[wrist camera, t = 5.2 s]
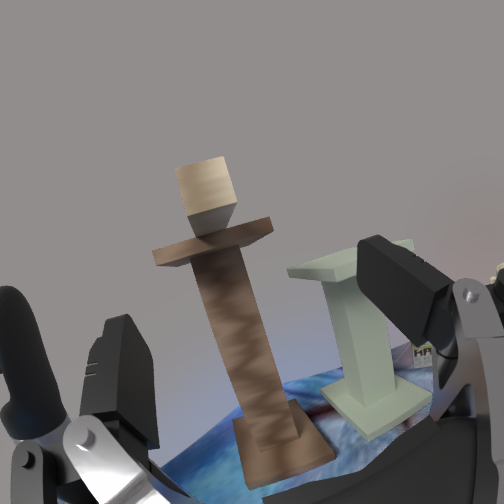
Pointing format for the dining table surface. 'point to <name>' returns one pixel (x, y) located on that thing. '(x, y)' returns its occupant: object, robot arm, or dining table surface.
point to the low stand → (362, 350)
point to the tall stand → (249, 357)
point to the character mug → (496, 273)
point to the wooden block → (207, 195)
